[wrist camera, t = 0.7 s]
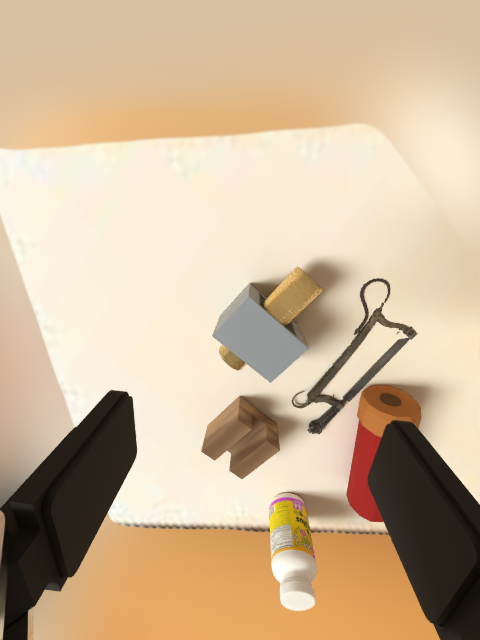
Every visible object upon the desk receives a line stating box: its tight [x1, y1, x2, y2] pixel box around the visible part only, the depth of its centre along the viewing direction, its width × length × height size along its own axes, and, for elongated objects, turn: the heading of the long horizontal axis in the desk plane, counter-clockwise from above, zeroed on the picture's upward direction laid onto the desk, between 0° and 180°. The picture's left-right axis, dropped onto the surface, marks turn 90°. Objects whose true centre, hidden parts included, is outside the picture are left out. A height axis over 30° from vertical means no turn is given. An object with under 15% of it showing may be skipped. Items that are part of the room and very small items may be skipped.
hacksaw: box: [292, 279, 417, 434], centre depth 35 cm, size 24×10×2 cm, turn 147°
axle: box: [219, 266, 323, 370], centre depth 30 cm, size 14×4×4 cm, turn 139°
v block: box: [201, 396, 280, 479], centre depth 37 cm, size 8×8×5 cm
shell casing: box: [346, 386, 421, 522], centre depth 36 cm, size 7×20×7 cm, turn 2°
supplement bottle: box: [269, 493, 317, 611], centre depth 40 cm, size 7×7×13 cm
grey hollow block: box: [212, 283, 308, 383], centre depth 30 cm, size 6×9×7 cm
